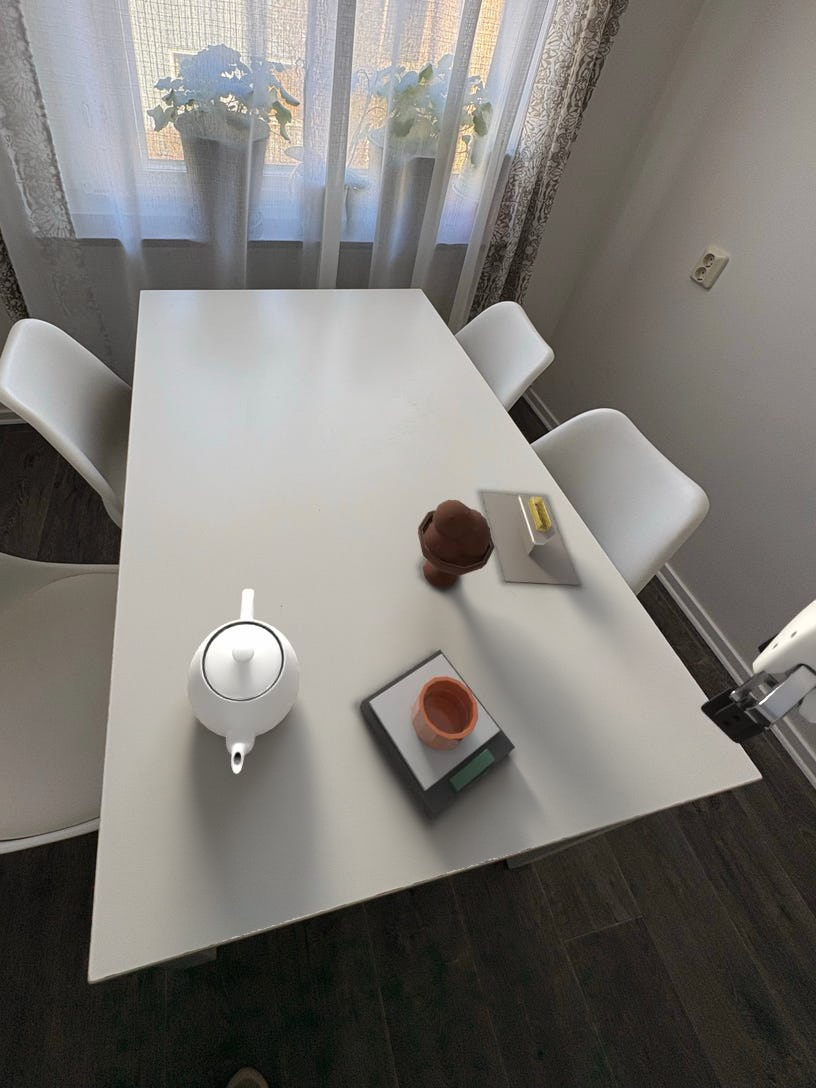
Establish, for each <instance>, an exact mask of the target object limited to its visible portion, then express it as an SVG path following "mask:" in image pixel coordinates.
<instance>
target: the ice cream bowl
mask: <svg viewBox="0 0 816 1088" xmlns="http://www.w3.org/2000/svg"><path fill="white" fill-rule="evenodd" d="M417 535H418V540H419V544H420V549H421V553H422V556H423V557H424V558H425V559H426V562H425V564H424V565H423V566H422V570H423V574H424V578H425V579H426V580H427V581H428V582H429V583H430V584H431V585H432V586H434V587H439V588H443V589H446V588H450V587H452V586H455V583H456V582H457V580H458V578H459V577H460V576H463V575H466V574H470V573H473V572H475V571H478V570H481V569H483V568H484V567H485V566H486V565H487V563H488V562H489V560H490V558H491V556H492V553H493V551H494V549H495V543H494V541H493V538H492V533H491V527H490V526H489V524H488V521H487V518H485V516H483V515H482V513H481V512H480V511H478V510H477V509H474V508H470V507H468V506H467V505H466V504H464V503H463V502H462V501H460V500H457V499H447V500H445V501H443V502H441V503H440V504H438V505H437V507H436V509H435V510H431V511H428V512H427V513H426V514H425V516H424V517H423V519H422V521H420V524H419V525H418V527H417Z"/></svg>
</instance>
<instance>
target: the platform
mask: <svg viewBox="0 0 816 1088" xmlns="http://www.w3.org/2000/svg"><path fill="white" fill-rule="evenodd" d="M482 498H483V502H484V505H485V508H486V513H487V516H488V520H489V524H490V529H491V532H492V535H493V539H494V544H495V548H496V551H497V555H498V558H499V562H500V565H501V570H502V573H503V577H504V581H505V582H514V583H532V584H533V583H535V584H553V585H554V584H555V585H573V586H579V582H578V579H577V577H576V574H575V571H574V568H573V566H572V563H571V561H570V558H569V556H568V553H567V550H566V547H565V544H564V541H563V539H562V537H561V534H560V531H559V529H558V525H557V523H556V520H555V517H554V515H553V512H552V509H551V506H550V504H549V501H548V498H547V497H546V496H533V495H530V494H528V493H520V494H519V495H514V494H500V493H499V494H498V493H483V492H482Z"/></svg>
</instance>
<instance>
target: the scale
mask: <svg viewBox="0 0 816 1088" xmlns="http://www.w3.org/2000/svg"><path fill="white" fill-rule="evenodd" d="M443 676H448V677H451V678H453V679H456V680H459V681H460V682H461V683H463V684H464V685H465V686H466V687H467V688H468V689H469V690H470V691H471V693H472V695H473V697H474V699H475V701H476V702H477V708H478V720H477V723H476V725H475V728H474V730H473V731H472V732H471V734H470V735H469V736H468V737H467V738H466V739H465V740H464V742H463V743H461V744H460V745H459V746H458V747H456V748H455V749H453V750H447V751H439V750H437V749H434V748H432V747H429V746H427V745H426V744H425V743H424V742H423V741H422V740H421V739H420V738H419V737H418V735H417V733H416V731H415V729H414V726H413V724H412V707H413V705H414V703H415V701H416V699H417V697H418V695H419V693H420V692H421V690H422V688H423V686H424V684H426V683H427V682H428V681H430V680H431V679H433V678H435V677H443ZM359 709H360V711H361V712H362V714H363V716H364V717H365V719H366V720H367V722H368V724H369V725H370V727H371V729H372V730H373V732H374V733H375V735H376V736H377V738H378V740H379V742H380V743H381V744H382V746H383V748H384V749H385V751H386V752H387V754H388V755H389V757H390V759H391V760H392V762H393V763H394V765H395V767H396V768H397V770H398V772H399V773H400V775H401V776H402V778H403V780H404V781H405V783H406V785H407V786H408V788H409V789H410V791H411V793H412V794H413V796H414V797H415V799H416V801H417V802H418V804H419V805H420V807H421V809H422V810H423V811H424V813H425V815H426V817H427V818H428V820H431V819H433V817H435V816H436V815H437V814H438V813H439V812H441V811H442V810H443V809H444V808H446V807H447V806H448V805H449V804H450V803H452V802H453V801H454V800H455V799H456V798H457V797H459V796H460V795H461V794H462V793H464V792H465V791H466V790H467V789H468V788H469V787H471V786H472V785H473V784H474V783H475V782H476V781H478V780H479V779H480V778H482V777H483V776H484V775H485V774H486V773H487V772H488V771H490V770H491V769H492V768H493V767H494V766H495V765H497V764H498V763H499V762H501V760H503V759H504V758H505V757H506V756H507V755H509V754H510V753H511V752H512V751H514V749H515V748H516V746H515V744H513V742H512V741H511V740H510V738H509V737H508V736H507V734H506V733H505V732H504V731H503V729H502V728H501V727H500V725H499V724H498V723H497V721H496V720H495V719H494V718H493V716H492V715H491V714H490V713H489V711H488V710H487V709H486V707H485V706H484V705H483V703H482V702H481V701H480V699H479V698H478V696H477V695H476V694H475V693H474V692H473V690H472V689H471V687H470V686H469V685H468V683H466V681H465V680H464V678H463V677H462V676H461V674H460V673H459V672H458V671H457V669H456V668H455V667H454V665H453V664H452V663H451V662H450V660H449V658H448V657H447V656H446V655H445V653H444V652H442V650H441V649H438V650H436V651H435V652H434V653H432V654H430V655H429V656H428V657H426V658H425V659H423V660H422V661H420V662H419V663H416V664H415V665H414V666H413V667H411V668H409V669H408V670H406V671H405V672H403V673H402V674H400V675H399V676H397V677H396V678H394V679H393V680H391V681H390V682H388V683H386V684H385V685H383V686H381V687H380V688H379V689H377V690H376V691H374V692H373V693H371V694H369V695H368V696H366V697H365V698H363V699H362V700H361V703H360V705H359Z"/></svg>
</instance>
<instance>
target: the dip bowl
mask: <svg viewBox="0 0 816 1088" xmlns="http://www.w3.org/2000/svg"><path fill="white" fill-rule="evenodd" d="M477 720H478V708H477V702H476V701H475V699H474V697H473V695H472V693H471V691H470V690H469V689H468V688H467V687H466V686H465V685H464V684H463V683H461V682H460V681H459V680H456V679H453V678H451V677H448V676H443V677H435V678H433V679H431V680H430V681H428V682H427V683H426V684H424V686H423V688H422V690H421V692H420V693H419V695H418V697H417V699H416V701H415V703H414V705H413V707H412V724H413V726H414V729H415V731H416V733H417V735H418V737H419V738H420V739H421V740H422V741H423V742H424V743H425V744H426V745H427V746H429V747H432V748H434V749H437V750H439V751H447V750H453V749H455V748H456V747H458V746H459V745H460V744H461V743H463V742H464V740H465V739H466V738H467V737H468V736H469V735H470V734H471V732H472V731H473V730H474V728H475V725H476V723H477Z"/></svg>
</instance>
